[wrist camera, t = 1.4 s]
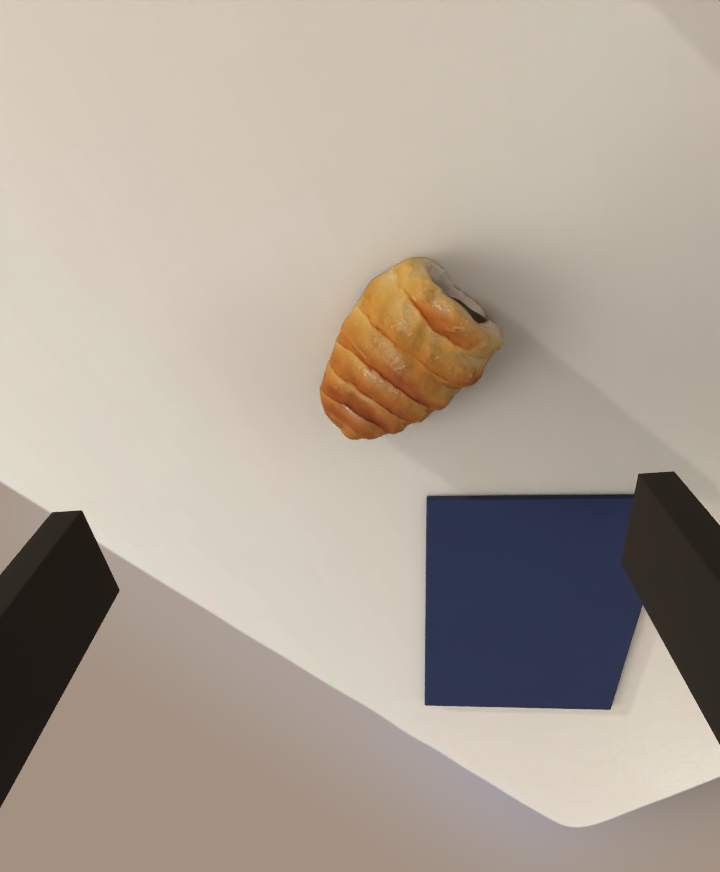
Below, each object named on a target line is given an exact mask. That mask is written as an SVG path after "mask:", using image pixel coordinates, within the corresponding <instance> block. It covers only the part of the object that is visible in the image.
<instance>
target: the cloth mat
mask: <svg viewBox="0 0 720 872" xmlns="http://www.w3.org/2000/svg"><path fill="white" fill-rule="evenodd" d="M633 499H634V495H552V496H433V497H427V518H426V625H425V705H433V706H475V707H518V708H560V709H603V710H610V709H611V706H612V703H613V700H614V696H615V693H616V690H617V686H618V683H619V680H620V677H621V673H622V670H623V667H624V663H625V660H626V657H627V654H628V650H629V647H630V644H631V640H632V637H633V634H634V631H635V627H636V624H637V621H638V617H639V614H640V611H641V608H642V602H641V600H640V598H639V597H638V595H637V593H636V591H635V589H634V588H633V586H632V584H631V582H630V580H629V578H628V577H627V575H626V573H625V571H624V569H623V568H622V566H621V564H620V563H621V558H622V553H623V548H624V543H625V538H626V533H627V529H628V524H629V519H630V514H631V509H632V504H633Z"/></svg>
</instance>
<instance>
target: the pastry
mask: <svg viewBox="0 0 720 872" xmlns="http://www.w3.org/2000/svg"><path fill="white" fill-rule="evenodd" d="M502 343H503V336H502V332H501V329H500V328H499V327H498V326H497V325H496V324H495V323H494V322H492V321H491V320H489V319H488V318H486V316H485V312H484V311H483V309H482V308H481V307H480V306H479V305H478V304H477V303H476V302H475V301H474V300H473V299H471V298H469V297H467V296H466V295H465V294H464V293H463V292H461V291H460V290H458V289H456V288H454V287H453V286H452V284H451V282H450V278H449V277H448V275H447V273H446V272H445V271H444V270H443V269H442V268H440V267H439V266H438V265H437V264H436V263H435V262H434V261H432V260H429V259H426V258H422V257H415V258H410V259H408V260H405V261H403V262H401V263H399V264H398V265H396V266H395V267H393V268H392V269H390V270H389V271H387V272H386V273H384V274H382V275H380V276H378V277H376V278H375V279H373V280H372V281H371V282H370V283H369V285H368V286H367V287H366V289H365V291H364V293H363V295H362V297H361V299H360V300H359V301H358V303H357V304H356V306H355V307H354V309H353V311H352V312H351V313H350V314H349V316H348V317H347V318H346V320H345V321H344V323H343V325H342V328H341V331H340V334H339V336H338V338H337V340H336V343H335V347H334V350H333V353H332V355H331V358H330V360H329V362H328V364H327V368H326V371H325V374H324V378H323V382H322V384H321V387H320V395H321V401H322V405H323V408H324V411H325V414H326V415H327V416H328V417H329V419H330V420H331V421H332V422H333V423H334V424H335V425H336V426H338V427H339V428H340V429H341V431H342V433H343V434H344V435H345V436H346V437H348V438H349V439H356V440H358V439H361V438H362V439H368V440H369V439H375V438H378V437H380V436H382V435H385V434H389V433H391V434H396V433H398V432H401V431H403V430H404V429H405V427H406V426H408V425H409V424H411V423H416V422H421V421H423V420H424V419H426V418H427V416H428V415H429V414H430V413H432V412H433V411H435V410H441V409H443V408H445V407H446V406H447V405H448V404H449V402H450V401H451V399H452V398H453V396H454V394H455V393H457V392H458V391H459V390H460V389H461V387H467V386H471V385H473V384H475V383H476V382H477V381H478V380H479V379H480V377H481V376H482V373H483V369H484V368H485V366H486V363H487V361H488V360H489V358H490V357H491V356H492V354H493V353H494V352H495V351H497V350H498V349H500V348H501V346H502Z"/></svg>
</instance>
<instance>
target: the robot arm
mask: <svg viewBox="0 0 720 872" xmlns="http://www.w3.org/2000/svg"><path fill="white" fill-rule="evenodd" d="M620 564H621V566H622V568H623V569H624V571H625V573H626V575H627V577H628V578H629V580H630V582H631V584H632V586H633V588H634V589H635V591H636V593H637V595H638V597H639V598H640V600H641V602H642V604H643V606H644V608H645V609H646V611H647V613H648V615H649V617H650V618H651V620H652V622H653V624H654V626H655V628H656V629H657V631H658V633H659V635H660V637H661V639H662V640H663V642H664V644H665V646H666V648H667V649H668V651H669V653H670V655H671V657H672V659H673V660H674V662H675V664H676V666H677V668H678V669H679V671H680V673H681V675H682V677H683V679H684V680H685V682H686V684H687V686H688V688H689V689H690V691H691V693H692V695H693V697H694V699H695V700H696V702H697V704H698V706H699V708H700V710H701V711H702V713H703V715H704V717H705V719H706V720H707V722H708V724H709V726H710V728H711V730H712V731H713V733H714V735H715V737H716V739H717V740H718V742H719V744H720V525H719V524H718V523H717V522H716V521H715V519H714V518H713V517H712V516H711V515H710V513H709V512H708V511H707V510H706V509H705V508H704V506H703V505H702V504H701V503H700V502H699V500H698V499H697V498H696V497H695V496H694V495H693V493H692V492H691V491H690V490H689V489H688V487H687V486H686V485H685V484H684V483H683V482H682V480H681V479H680V478H679V477H678V476H677V474H676V473H675V472H659V473H644V474H638V479H637V484H636V489H635V494H634V499H633V504H632V509H631V514H630V519H629V524H628V529H627V533H626V538H625V543H624V548H623V553H622V558H621V563H620ZM118 593H119V588H118V586H117V584H116V582H115V579H114V577H113V575H112V573H111V571H110V569H109V567H108V564H107V562H106V560H105V558H104V556H103V554H102V552H101V550H100V548H99V545H98V543H97V541H96V539H95V537H94V535H93V533H92V531H91V529H90V526H89V524H88V522H87V520H86V518H85V516H84V514H83V512H82V510H81V511H66V512H52V513H51V514H50V516H49V517H48V518H47V519H46V520H45V522H44V523H43V524H42V525H41V526H40V528H39V529H38V530H37V531H36V533H35V534H34V535H33V536H32V537H31V539H30V540H29V541H28V542H27V543H26V544H25V546H24V547H23V548H22V549H21V551H20V552H19V553H18V554H17V555H16V557H15V558H14V559H13V560H12V561H11V563H10V564H9V565H8V566H7V568H6V569H5V570H4V571H3V572H2V573H1V575H0V807H1V805H2V804H3V802H4V800H5V798H6V796H7V794H8V793H9V791H10V789H11V787H12V785H13V784H14V782H15V780H16V778H17V776H18V774H19V773H20V771H21V769H22V767H23V765H24V764H25V762H26V760H27V758H28V756H29V754H30V753H31V751H32V749H33V747H34V745H35V744H36V742H37V740H38V738H39V736H40V734H41V732H42V731H43V729H44V727H45V725H46V723H47V722H48V720H49V718H50V716H51V714H52V713H53V711H54V709H55V707H56V705H57V704H58V702H59V700H60V698H61V696H62V694H63V693H64V691H65V689H66V687H67V685H68V683H69V682H70V680H71V678H72V676H73V674H74V673H75V671H76V669H77V667H78V665H79V663H80V662H81V660H82V658H83V656H84V654H85V653H86V651H87V649H88V647H89V645H90V643H91V642H92V640H93V638H94V636H95V634H96V632H97V631H98V629H99V627H100V625H101V623H102V622H103V620H104V618H105V616H106V614H107V613H108V611H109V609H110V607H111V605H112V603H113V602H114V600H115V598H116V596H117V594H118Z"/></svg>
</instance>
